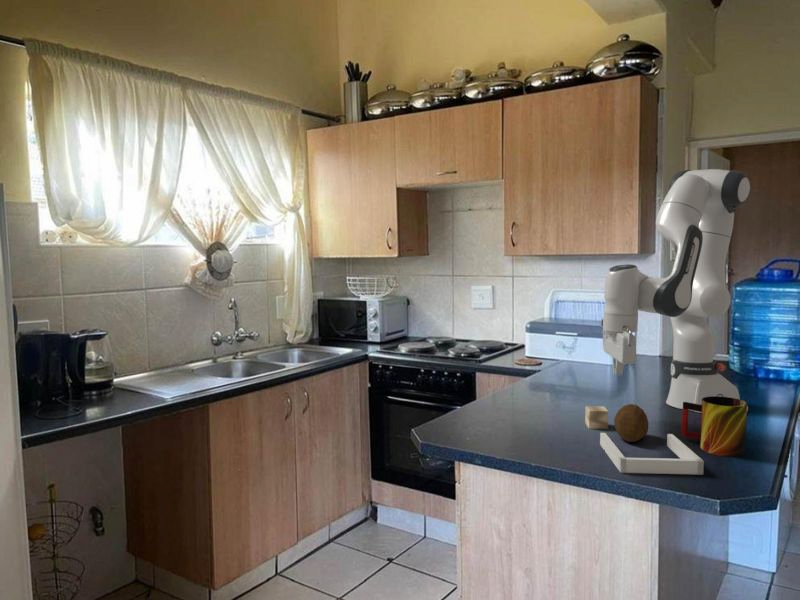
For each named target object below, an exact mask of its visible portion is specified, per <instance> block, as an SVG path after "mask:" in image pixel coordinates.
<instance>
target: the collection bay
mask: <svg viewBox="0 0 800 600" xmlns="http://www.w3.org/2000/svg"><path fill="white" fill-rule="evenodd" d="M599 433H600V434H599V435H600V436H599V437H600V439H599V446H600V447H601V448H602V450H603V451H604V450H605V451H604V452H605V453H606V455H607V457H609V459H610V460H611V462H612V463H613V464H614V466H615V468H617V470H618V471H619V473H621V474H623V473H624V474H625V473H626V474H656V475H657V474H660V475H661V474H663V475H666V474H667V475H668V474H669V475H699V476H700V475H702V476H703V475H704V463H705V461H704V460H703V459H702V458H701V457H700V456H699V455H697V454H696V453H695V452H694V451H693V450H692V449H691V448H689V447H688V446H687V445H686V444H685V443H683V442H682V441H681V440H680V438H677V436H675V435H674V434H673V433H667V436H666V439H667V440H666V447H668V449H670V450H671V451H672V452H673V453H674V454H675V455H676V456H677V457H678V458H669V457H668V458H665V457H662V458H661V457H660V458H659V457H658V458H657V457H656V458H655V457H625V455H624V454H623V453H622V452H621V451H620V449H619V447H617V446H616V444H615V443H614V442H613V441H612V440H611V438H610V437H609V436H608V435H607V433H606V432H599Z"/></svg>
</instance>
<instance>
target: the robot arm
mask: <svg viewBox="0 0 800 600" xmlns="http://www.w3.org/2000/svg"><path fill="white" fill-rule="evenodd" d="M750 192H751V180H750V178H749V176H748V175H747V173H745V172H743V171H741V170H740V171H739V170H737V169H736V170H735V169H732V170H727V169H721V168H719V169H718V168H716V169H715V168H709V169H694V170H693V169H692V170H691V169H685V170H680V171H678V172H676V173H675V174H674V175H673V176H672V177H671V179H670V181H669V183H668V192H667V193H666V195H665V198H664V199H663V202H662V204H661V205H660V208H659V210H658V212H657V215H656V219H655V227H656V230H657V231H658V233H659V235H660V236H662V237H663V238H664V239H665V240H666V241H668V242H670V243H671V244H673V245H675V246H676V247H677V251H676V255H675V258H674V263H673V267H672V270H671V273H670V275H668V276H666V277H664V278H663V277H662V278H661V277H652V276H648V275H647V274H645V273H643V272H642V271H640V270H639V267H638V266H637V265H635V264H628V263H627V264H618V265H615V266H612V267H610V268H609V269H608V271H607V273H606V277H605V283H604V293H603V294H604V301H605V306H604V309H603V316H602V317H603V318H601V320H600V322H601V323H600V327H601V328H602V347H603V351H604V353H606V354H607V355H609V357H612V359H611V361H612V367H613V371H612V372H613V374H615V375H616V376H617V377H618V376H619V377H620V376H623V374H624V368H625V365H634V364H636V361H637V338H636V336H635V335H634V334H633V333H637V332H638V326H639V325H638V322H639V312H646V313H650V314H651V313H652V314H659V315H662V316H666V317H669V318H670V323H671V327H672V333H673V334H672V335H673V340H672V341H673V343H672V344H673V350H672V351H673V352H672V353H673V354H672V356H673V357H672V358H671V363H670V376H671V381H670V387H669V392H668V396H667V398H666V401H665V403H666V404H667V405H668V406H670V407H672V408H673V407H674V408H676V409H679V410H680V409H681V410H683V402H689V403H694V404H700V405H702V398H704V397H712V396H718V397H729V398H735V399H739V400H741V399H740V393H739V390H738V387H736V385H734V384H733V383H732V382H730V381H729V380H728V379H726V377H724V376H723V375H722V374H720V373H719V371H720V372H724V371H725V370H726V368H727V367H726V365H725V364H723V363H717V361H715V360H714V335H713V332H712V331H711V329H710V327H709V325H708V322H707V321H708V320H707V318H713V317H714V318H715V317H719V316H722V315H723V314H725V313H726V312H727V311H728V310H729V308H730V305H731V301H732V300H731V299H732V297H731V294H730V291H729V290H728V288H727V285H726V276H725V275H726V274H725V266H726V258H727V254H728V251H729V246H730V243H731V239H732V234H733V230H734V222H735V220H734V219H735V212H736V211H737V210H738V209H739V208H741V207H742V206H743V205H744V204H745V203H746V201H747V200H748V198H749V195H750ZM690 411H692V412H695V413H700V414H702V412H698V411H693V410H690ZM748 411H749V406H748V405H747V412H748Z"/></svg>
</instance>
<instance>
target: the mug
mask: <svg viewBox="0 0 800 600" xmlns="http://www.w3.org/2000/svg"><path fill="white" fill-rule="evenodd" d="M747 406H748V402H746V401H745V400H742V399H740V400H739V399H735V398H729V397H718V396H712V397H704V398H702V405H700V404H694V403H689V402H683V409H682V417H681V418H682V421H681V436H682V437H683V438H687V439H688V438H689V439H694V440H698V441H700V444H699V445H700V446H699V447H700V449H701V450H702V451H704V452H706V453H709V454H711V455H716V456H722V457H740V456H744V455H745V454H746V440H747V439H746V437H747V435H746V434H747V419H748V418H747V413H748V411H747ZM691 410H693V411H692V412H695V411H698V412H697V413H699V412H702V413H701V418H700V432H697V431H691V430H688V429H689V428H688V427H689V426H688V424H689V420H688V419H689V411H691Z"/></svg>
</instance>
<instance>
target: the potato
mask: <svg viewBox="0 0 800 600" xmlns="http://www.w3.org/2000/svg"><path fill="white" fill-rule="evenodd" d="M616 412H617V413H616V414H615V416H614V420H613V422H614V427H615V431H616V433H617V434H618V436H619V437H620V438H621V439H622V440H624V441H626V442H628V443H635V442H637V441H639V440H641V439H643V438H644V437H645V436H646V435H647V434H648V431H649V420H648V416H647V414H646V413H645V411H644V410H643V409H642V408H641V407H640V406H638V405H637V404H633V403H629V404H625V405H623V406H622V407H621V408H620V409H619V410H618V411H616Z"/></svg>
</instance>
